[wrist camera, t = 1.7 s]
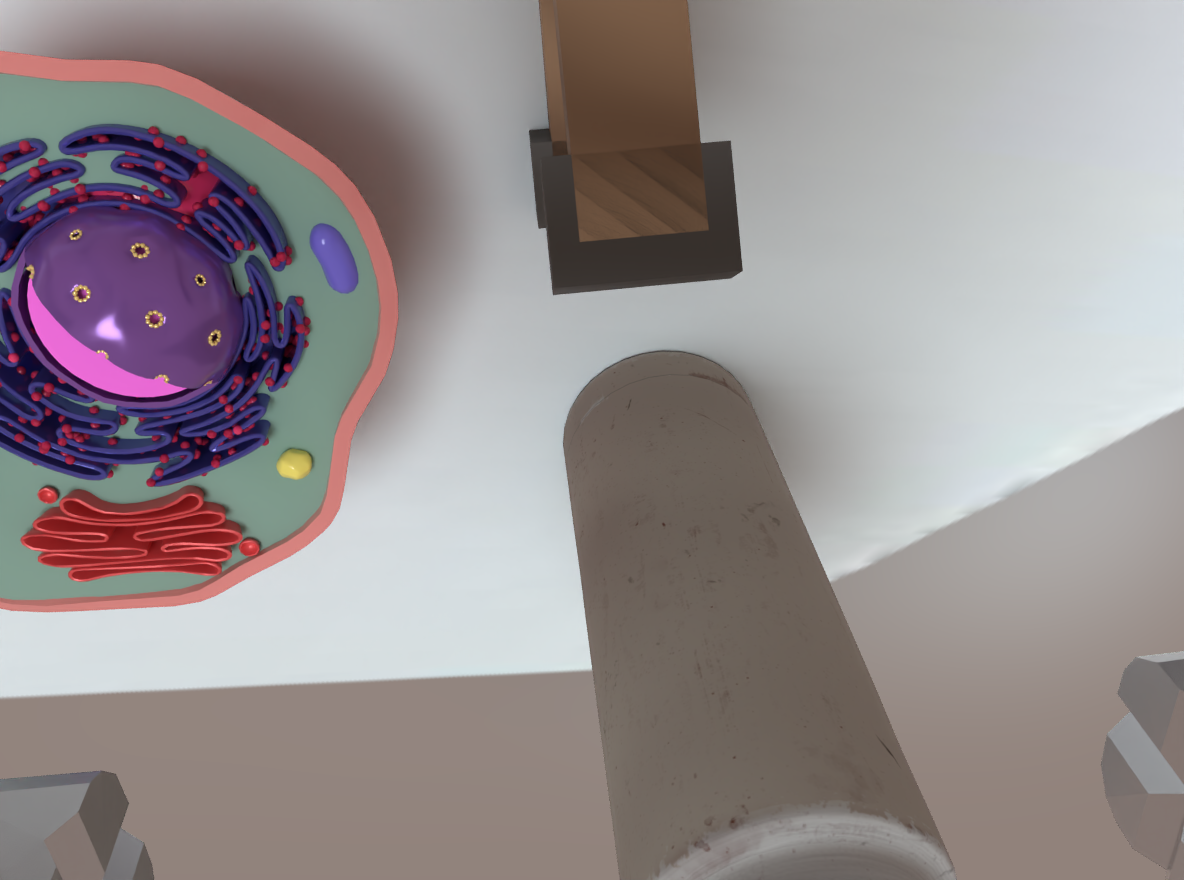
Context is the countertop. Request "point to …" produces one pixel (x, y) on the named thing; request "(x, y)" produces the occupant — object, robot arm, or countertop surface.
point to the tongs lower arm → (555, 136)
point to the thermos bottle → (725, 649)
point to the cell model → (171, 336)
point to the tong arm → (634, 155)
